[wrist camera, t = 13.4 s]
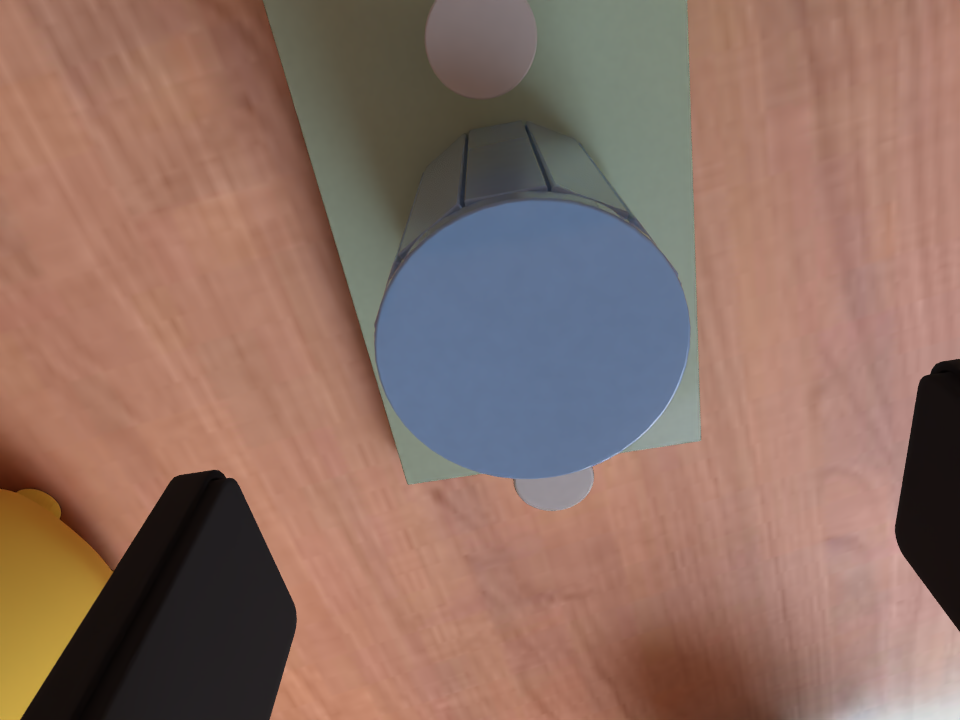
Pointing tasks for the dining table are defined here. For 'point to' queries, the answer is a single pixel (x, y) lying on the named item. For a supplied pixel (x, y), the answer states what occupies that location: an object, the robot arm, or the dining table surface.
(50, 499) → the teapot
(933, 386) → the robot arm
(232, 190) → the dining table surface
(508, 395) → the blue faceted cylinder
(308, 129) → the rack
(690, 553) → the dining table surface
